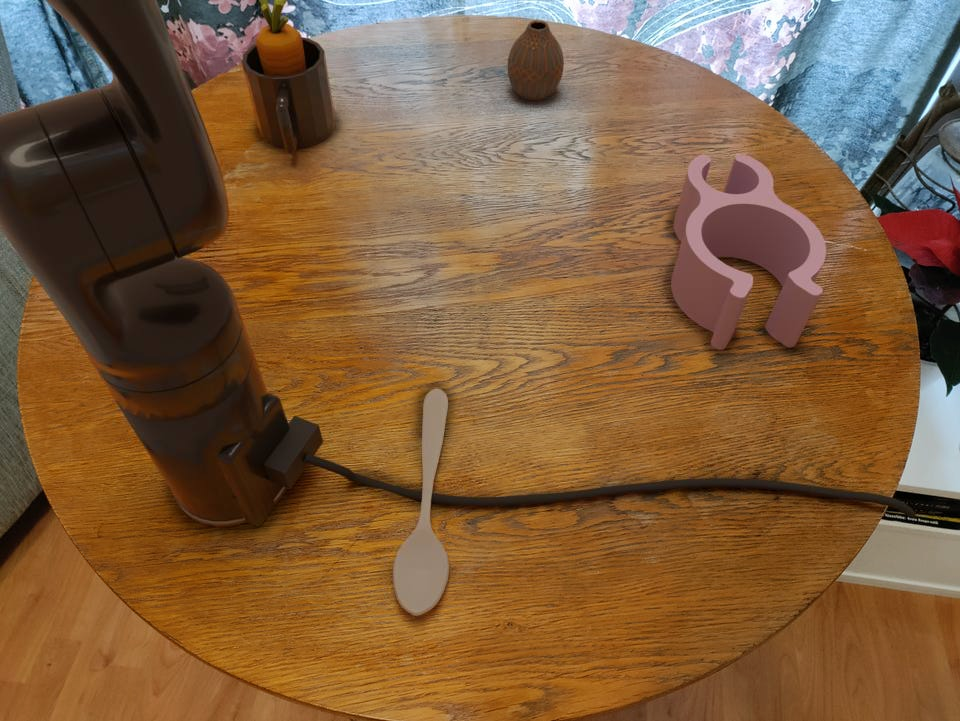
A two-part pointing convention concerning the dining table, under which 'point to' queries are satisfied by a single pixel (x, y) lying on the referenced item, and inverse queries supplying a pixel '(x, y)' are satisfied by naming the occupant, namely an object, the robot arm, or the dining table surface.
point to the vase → (535, 62)
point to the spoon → (424, 524)
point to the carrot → (279, 43)
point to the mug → (292, 100)
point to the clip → (743, 251)
